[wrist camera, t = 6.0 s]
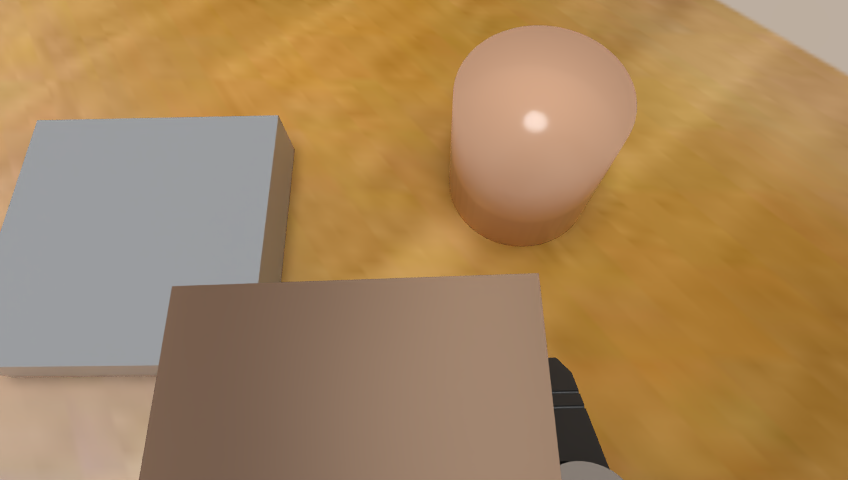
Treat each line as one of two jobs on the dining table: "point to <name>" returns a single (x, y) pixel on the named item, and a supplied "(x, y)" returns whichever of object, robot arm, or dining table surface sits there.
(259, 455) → the walnut block
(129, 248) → the plinth
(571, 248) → the dining table surface
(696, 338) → the dining table surface
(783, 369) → the dining table surface
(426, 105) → the dining table surface
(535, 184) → the pink smooth domed block
